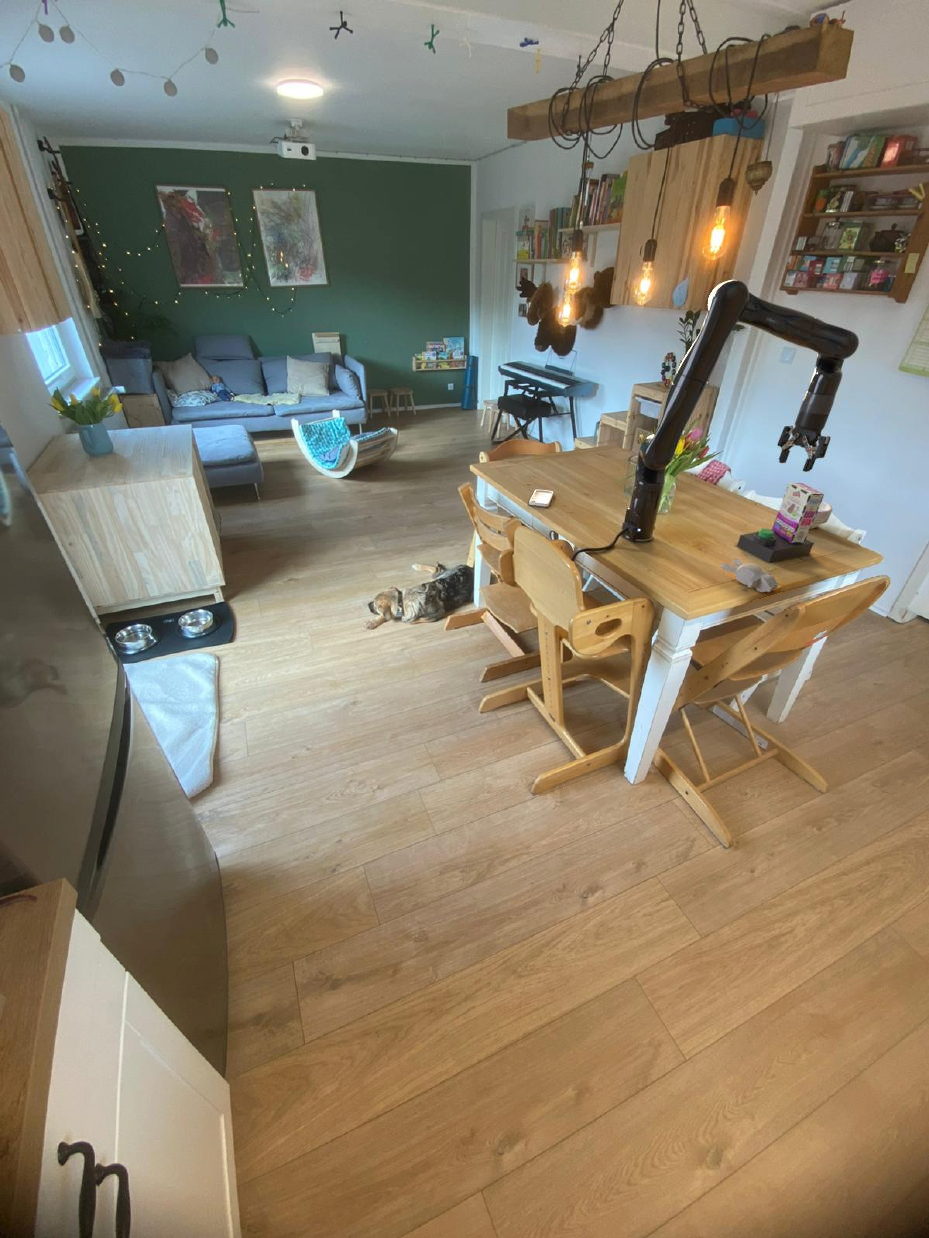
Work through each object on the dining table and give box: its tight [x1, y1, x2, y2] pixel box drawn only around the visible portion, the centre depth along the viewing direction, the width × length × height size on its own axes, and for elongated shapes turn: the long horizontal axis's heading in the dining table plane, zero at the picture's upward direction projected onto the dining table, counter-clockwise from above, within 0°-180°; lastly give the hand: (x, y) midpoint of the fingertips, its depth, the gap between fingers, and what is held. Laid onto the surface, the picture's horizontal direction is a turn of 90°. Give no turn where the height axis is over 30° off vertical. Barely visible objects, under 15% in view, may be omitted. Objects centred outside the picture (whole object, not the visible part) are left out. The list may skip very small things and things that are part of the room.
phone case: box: [528, 488, 554, 508], centre depth 209 cm, size 7×1×15 cm
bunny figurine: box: [720, 558, 779, 593], centre depth 154 cm, size 10×5×15 cm
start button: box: [758, 528, 774, 539], centre depth 169 cm, size 4×4×2 cm
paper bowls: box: [810, 500, 834, 530], centre depth 192 cm, size 15×15×8 cm
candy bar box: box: [771, 482, 825, 543], centre depth 170 cm, size 11×5×16 cm, turn 5°
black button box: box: [736, 528, 815, 563], centre depth 173 cm, size 18×13×6 cm
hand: (793, 467), depth 158 cm, fingers open, 8 cm apart
